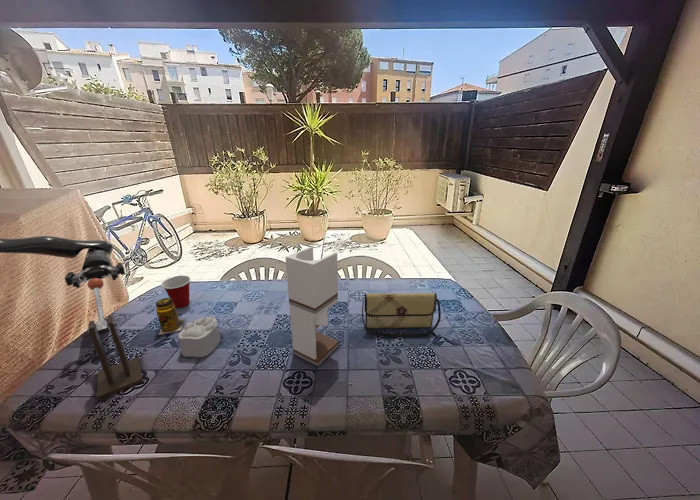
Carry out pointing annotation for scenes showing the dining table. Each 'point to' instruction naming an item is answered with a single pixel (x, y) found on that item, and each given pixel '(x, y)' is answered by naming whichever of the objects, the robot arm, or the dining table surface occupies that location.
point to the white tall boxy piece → (311, 302)
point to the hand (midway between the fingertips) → (95, 280)
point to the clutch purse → (400, 311)
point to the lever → (99, 305)
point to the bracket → (118, 374)
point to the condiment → (168, 316)
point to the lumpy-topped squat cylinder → (199, 337)
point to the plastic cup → (178, 290)
